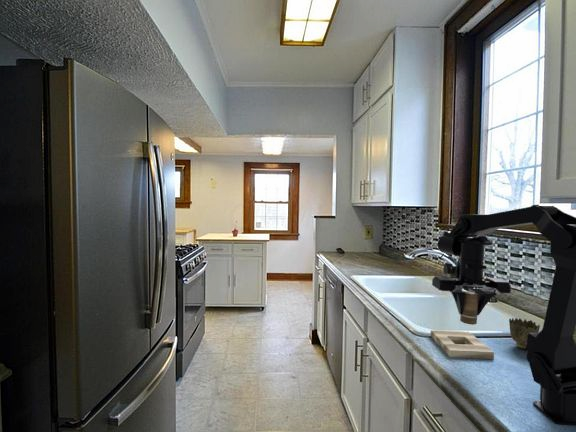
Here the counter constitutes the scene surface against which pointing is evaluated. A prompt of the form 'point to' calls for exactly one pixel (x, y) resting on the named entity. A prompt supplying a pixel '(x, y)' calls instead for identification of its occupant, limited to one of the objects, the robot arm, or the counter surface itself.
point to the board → (467, 350)
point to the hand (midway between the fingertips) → (468, 314)
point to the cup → (522, 331)
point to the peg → (470, 308)
